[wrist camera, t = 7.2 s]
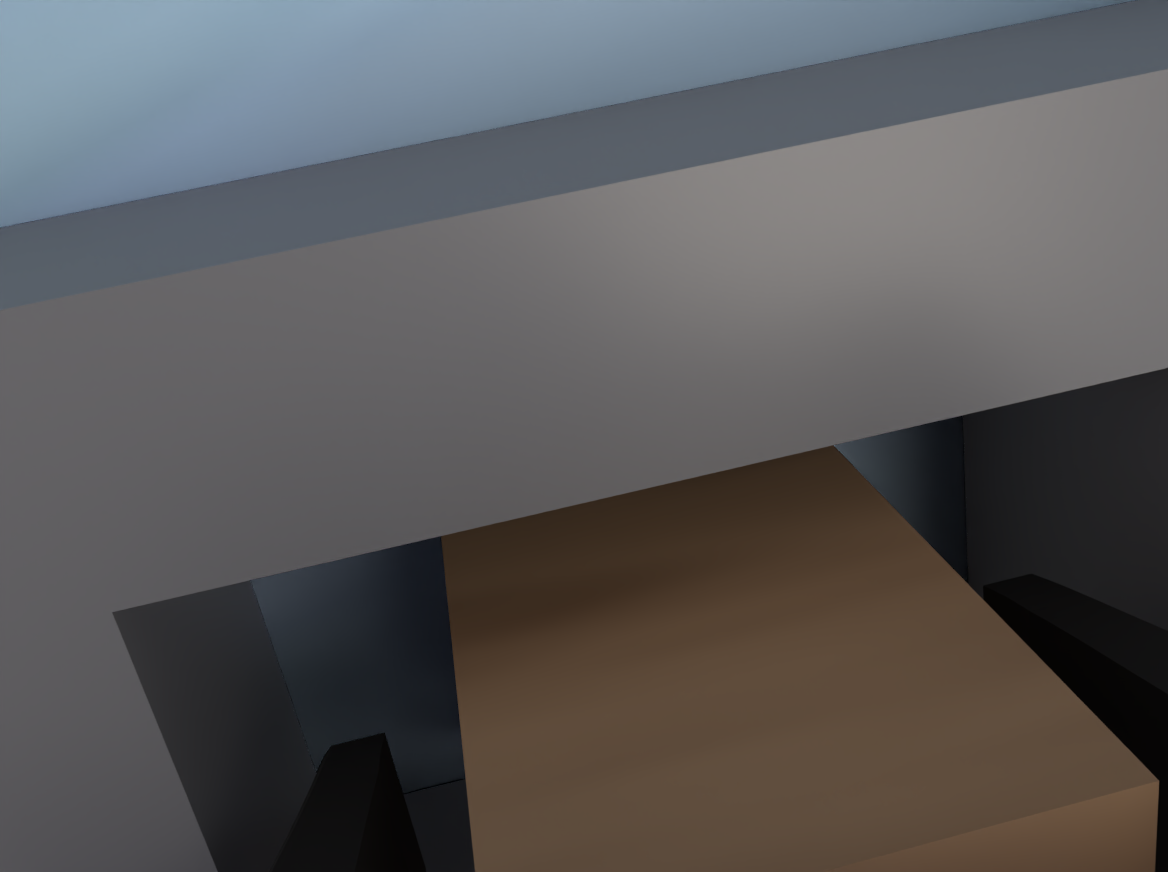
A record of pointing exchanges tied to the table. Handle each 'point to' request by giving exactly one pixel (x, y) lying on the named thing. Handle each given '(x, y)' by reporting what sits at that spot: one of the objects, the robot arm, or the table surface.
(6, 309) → the well block
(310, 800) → the robot arm
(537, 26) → the table surface
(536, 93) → the table surface
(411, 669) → the table surface
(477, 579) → the walnut block
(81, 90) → the table surface
